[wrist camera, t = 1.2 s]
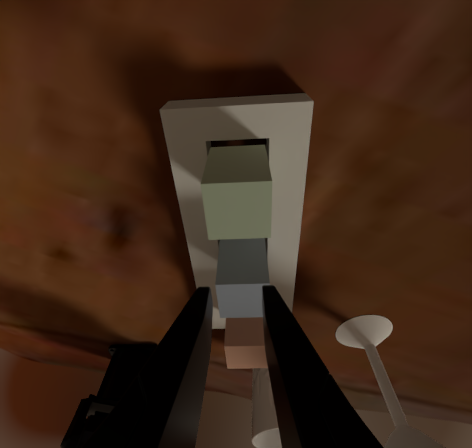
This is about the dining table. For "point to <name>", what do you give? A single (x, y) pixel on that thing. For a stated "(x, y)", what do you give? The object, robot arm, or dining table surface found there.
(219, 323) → the button board
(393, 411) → the champagne flute
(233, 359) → the terracotta button
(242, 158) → the pale green block
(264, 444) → the white cup
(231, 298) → the grey rectangular block
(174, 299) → the dining table surface
